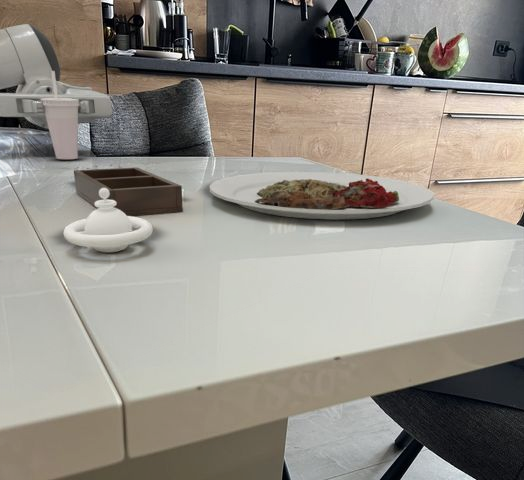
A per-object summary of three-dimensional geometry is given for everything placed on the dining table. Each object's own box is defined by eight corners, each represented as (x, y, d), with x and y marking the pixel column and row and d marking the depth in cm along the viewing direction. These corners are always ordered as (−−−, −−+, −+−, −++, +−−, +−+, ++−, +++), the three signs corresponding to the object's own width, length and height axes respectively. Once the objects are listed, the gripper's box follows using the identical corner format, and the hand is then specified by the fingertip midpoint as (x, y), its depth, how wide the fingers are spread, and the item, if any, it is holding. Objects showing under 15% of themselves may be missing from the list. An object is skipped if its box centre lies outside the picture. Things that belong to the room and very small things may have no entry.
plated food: (214, 182, 88) (213, 160, 86) (398, 185, 89) (400, 163, 88) (203, 225, 61) (202, 194, 59) (467, 228, 62) (472, 198, 61)
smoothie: (46, 156, 100) (34, 70, 94) (82, 155, 103) (73, 71, 96) (50, 160, 95) (37, 70, 89) (88, 159, 97) (78, 71, 91)
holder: (109, 218, 63) (106, 190, 62) (76, 193, 77) (73, 170, 76) (182, 211, 67) (181, 185, 66) (139, 189, 81) (137, 167, 80)
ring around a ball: (48, 251, 51) (104, 269, 47) (37, 189, 48) (95, 201, 44) (116, 233, 56) (171, 247, 52) (109, 176, 54) (167, 186, 50)
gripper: (-16, 84, 99) (-8, 85, 88) (98, 87, 108) (118, 88, 98) (-9, 121, 102) (-1, 127, 91) (101, 121, 111) (121, 126, 100)
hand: (62, 107), depth 94 cm, fingers closed on smoothie, 6 cm apart
